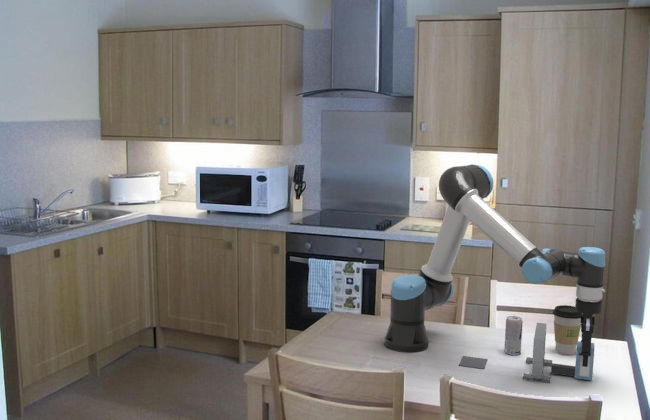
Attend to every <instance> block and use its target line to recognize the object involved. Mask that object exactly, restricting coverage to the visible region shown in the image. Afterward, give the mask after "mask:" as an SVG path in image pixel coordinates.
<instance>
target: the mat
mask: <svg viewBox="0 0 650 420" xmlns="http://www.w3.org/2000/svg"><path fill="white" fill-rule="evenodd" d="M488 360H489V359H488V358H483V357H473V356H467V355H463V356H462V357H461V360H460V361H459V364H458V367H464V368H472V369H479V370H485V368H486V365H487V362H488Z"/></svg>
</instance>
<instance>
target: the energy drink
mask: <svg viewBox="0 0 650 420" xmlns="http://www.w3.org/2000/svg"><path fill="white" fill-rule="evenodd" d="M523 322H524V321H523V318H522V317H520V316H516V315H509V316H506V319H505V331H504V334H505V335H504V353H505V354H507V355H509V356H518V355H521V353H522V338H523V337H522V335H523Z"/></svg>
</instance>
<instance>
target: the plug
mask: <svg viewBox="0 0 650 420" xmlns="http://www.w3.org/2000/svg"><path fill="white" fill-rule="evenodd" d="M581 352H582V342H581V340H578V341H577V346H576V351H575V354H576V355H575V364H574V365H568V364H560V363H553V362H552V365H551V366H550V374H552V375H561V376H569V377H574V379H579V380H585V381H586V380H587V381H593V377H594V376H593V375H594V374H593V372H594V360H595V342H594V343H593V342H591V352H590V353H591V355H590V368H589V377H586V376H579V373H580V358H581V355H579V353H581Z"/></svg>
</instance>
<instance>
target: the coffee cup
mask: <svg viewBox="0 0 650 420" xmlns="http://www.w3.org/2000/svg"><path fill="white" fill-rule="evenodd" d="M552 314H553V319H554V320H553V328H554V329H553V330H554V342H555V352H556V353H558V354H560V355H566V356H569V355H570V356H571V355H572V356H573V355H575V354H576V349H577V341H579V337H580V332H581V316H583V313H580V312H578V311H576V309H575V306H574V305H567V304H566V305H565V304H564V305H557V306H555V307H554V309H553V310H552Z"/></svg>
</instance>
